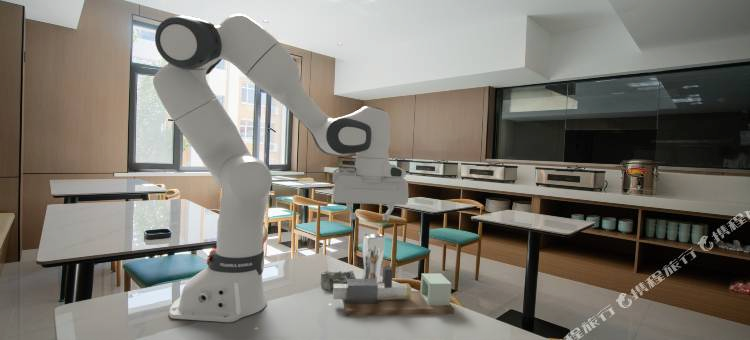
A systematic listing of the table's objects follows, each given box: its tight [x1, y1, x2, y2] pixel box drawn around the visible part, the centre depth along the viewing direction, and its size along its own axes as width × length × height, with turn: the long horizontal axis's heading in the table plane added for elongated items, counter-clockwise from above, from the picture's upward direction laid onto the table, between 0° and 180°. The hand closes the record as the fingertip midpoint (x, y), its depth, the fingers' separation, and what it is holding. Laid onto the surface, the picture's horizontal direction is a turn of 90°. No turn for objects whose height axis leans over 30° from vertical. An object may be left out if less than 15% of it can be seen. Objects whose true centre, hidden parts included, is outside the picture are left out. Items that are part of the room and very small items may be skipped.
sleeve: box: [346, 278, 378, 304], centre depth 99 cm, size 8×5×5 cm, turn 100°
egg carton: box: [320, 270, 357, 290], centre depth 113 cm, size 11×8×4 cm
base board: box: [342, 290, 455, 317], centre depth 100 cm, size 29×12×2 cm, turn 100°
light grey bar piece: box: [332, 265, 412, 300], centre depth 99 cm, size 21×3×8 cm, turn 100°
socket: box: [419, 272, 452, 306], centre depth 102 cm, size 6×8×8 cm
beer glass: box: [361, 232, 385, 284], centre depth 117 cm, size 7×7×15 cm
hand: (369, 220), depth 98 cm, fingers open, 8 cm apart
